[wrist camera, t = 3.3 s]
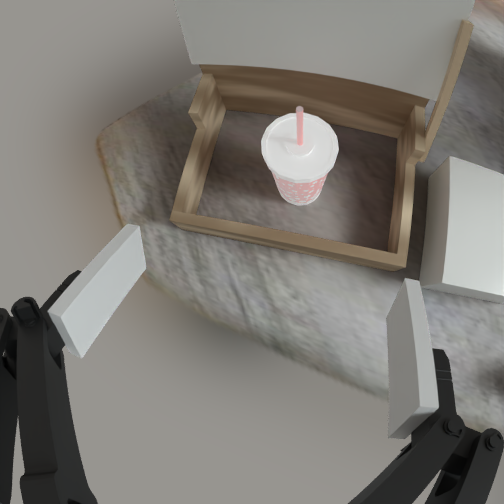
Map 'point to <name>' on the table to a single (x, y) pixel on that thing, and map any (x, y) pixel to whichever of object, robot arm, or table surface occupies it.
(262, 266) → the table surface
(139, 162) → the table surface
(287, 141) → the beverage cup
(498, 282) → the grey slab
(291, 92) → the frame
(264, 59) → the propped lid
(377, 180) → the table surface
